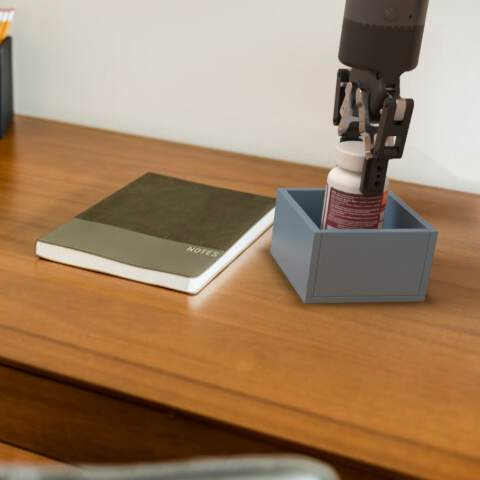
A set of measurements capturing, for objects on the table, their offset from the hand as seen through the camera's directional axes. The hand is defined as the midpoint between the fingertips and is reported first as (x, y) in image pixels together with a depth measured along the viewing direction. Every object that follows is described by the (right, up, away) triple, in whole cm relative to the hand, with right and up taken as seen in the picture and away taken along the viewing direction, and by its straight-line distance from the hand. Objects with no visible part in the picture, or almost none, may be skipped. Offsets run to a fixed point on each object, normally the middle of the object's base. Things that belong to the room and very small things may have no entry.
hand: (358, 182), depth 92 cm
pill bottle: (0, -7, +3) cm, 8 cm away
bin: (0, -10, +4) cm, 11 cm away
